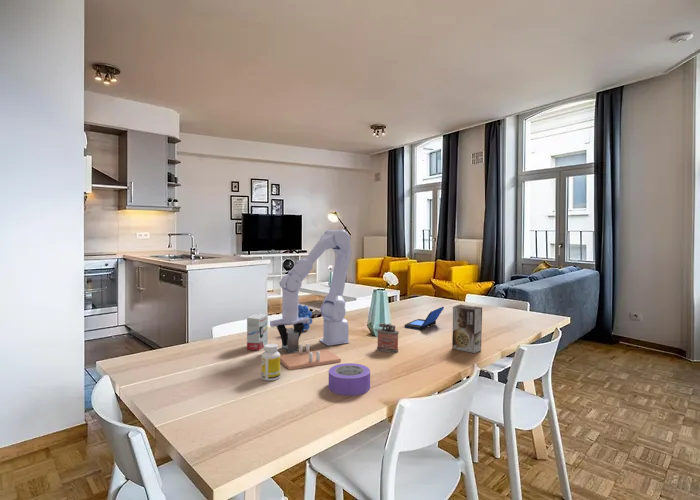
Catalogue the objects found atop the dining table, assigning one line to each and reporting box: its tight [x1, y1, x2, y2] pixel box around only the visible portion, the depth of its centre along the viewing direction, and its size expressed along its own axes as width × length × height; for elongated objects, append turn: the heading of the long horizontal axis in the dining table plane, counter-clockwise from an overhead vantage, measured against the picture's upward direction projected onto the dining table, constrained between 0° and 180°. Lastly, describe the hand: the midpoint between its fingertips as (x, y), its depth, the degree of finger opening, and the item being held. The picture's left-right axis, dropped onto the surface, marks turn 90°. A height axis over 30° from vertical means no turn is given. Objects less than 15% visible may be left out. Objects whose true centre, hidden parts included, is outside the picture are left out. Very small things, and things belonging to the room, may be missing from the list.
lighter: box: [376, 322, 400, 354], centre depth 146 cm, size 8×3×10 cm, turn 65°
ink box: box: [246, 313, 269, 351], centre depth 148 cm, size 9×5×12 cm, turn 168°
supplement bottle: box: [261, 343, 281, 382], centre depth 118 cm, size 5×5×10 cm
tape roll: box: [328, 362, 371, 397], centre depth 112 cm, size 12×12×5 cm
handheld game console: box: [404, 306, 444, 331], centre depth 184 cm, size 16×13×9 cm
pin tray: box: [280, 343, 342, 371], centre depth 134 cm, size 18×12×4 cm, turn 117°
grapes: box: [292, 304, 313, 333], centre depth 170 cm, size 12×7×12 cm, turn 139°
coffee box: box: [451, 304, 483, 354], centre depth 149 cm, size 9×6×16 cm
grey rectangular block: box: [281, 327, 300, 354], centre depth 146 cm, size 4×7×7 cm, turn 27°
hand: (290, 344), depth 146 cm, fingers closed on grey rectangular block, 4 cm apart
